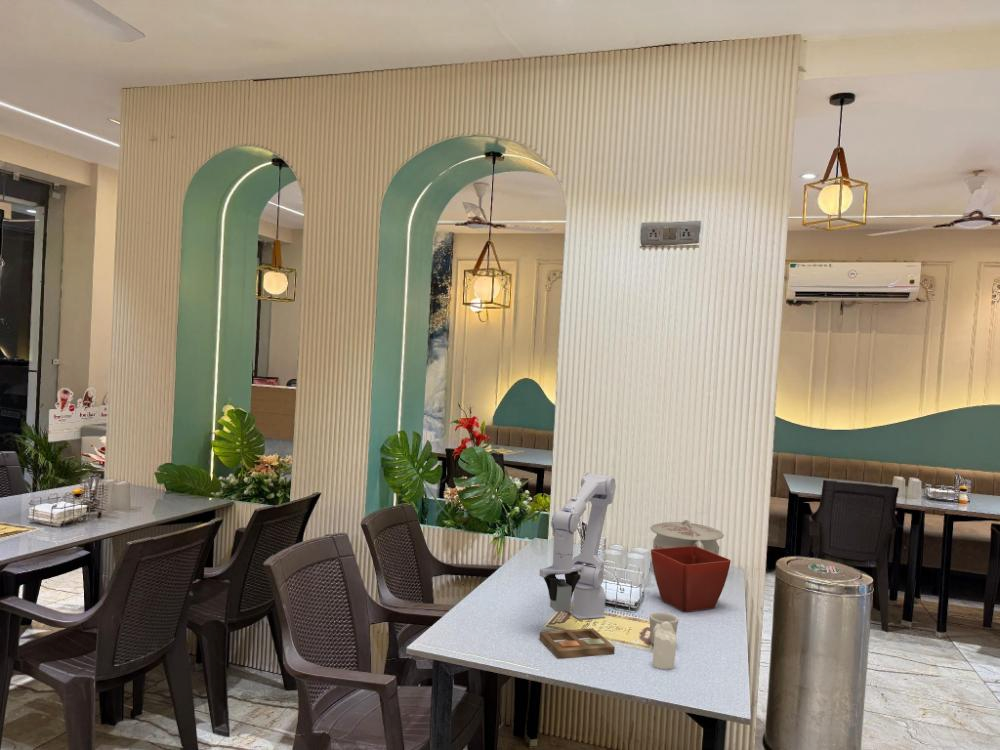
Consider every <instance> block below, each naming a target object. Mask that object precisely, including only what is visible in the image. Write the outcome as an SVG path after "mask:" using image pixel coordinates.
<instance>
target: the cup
mask: <svg viewBox="0 0 1000 750" xmlns="http://www.w3.org/2000/svg"><path fill="white" fill-rule="evenodd" d="M666 621H667V622H669V623H670V624H672V628H673V630H674V631H675V634H676V635H677V631H678V625H679V624H678V623H679V618H678V616H676V615H674V614H672V613H667V612H661V611H660V612H653V613H650V615H649V632H650V633H649V636H650V642H651V644H652V645H654V634H655V632H656V631H657V630H658V629H659V627H660V626H661V624H662V623H664V622H666Z"/></svg>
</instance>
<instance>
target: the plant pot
mask: <svg viewBox="0 0 1000 750" xmlns="http://www.w3.org/2000/svg"><path fill="white" fill-rule="evenodd" d="M650 554H651V555H650V556H651V563H652V568H653V573H654V578H655V582H656V586H657V590H658V592H659V596H660V598H661V600H662V601H663V602H664V603H667V604H668V605H670V606H672V607H674V608H676V609H677V610H679V611H682V612H684V613H686V612H687V613H688V612H693V611H694V612H696V611H702V610H703V611H704V610H710V609H714V608H715V607H716V605H717V603H718V601H719V599H720V597H721V594H722V592H723V590H724V587H725V585H726V581H727V578H728V575H729V572H730V566H731V561H732V560H731V559H729V558H727V557H725V556H721V555H720V554H719V555H717V554H714V553H712V552H709V551H707V550H704V549H702V548H699V547H697V546H685V547H673V548H662V549H651V550H650Z"/></svg>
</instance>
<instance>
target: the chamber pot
mask: <svg viewBox="0 0 1000 750" xmlns="http://www.w3.org/2000/svg"><path fill="white" fill-rule="evenodd" d="M649 529H650V531H651V532H653V533H655V534H656V535H655V537H654V538H653V540H652V548H653V549H662V548H673V547H685V546H697V547H699V548H702V549H704V550H707V551H709V552H712V553H714V554H717V555H719V556H720V545H719V544H718V540H720V539H723V538H724V536H725V534H724V533H723V532H722V531H720V530H718V529H716V528H714V527H710V526H707V525H704V524H700V523H699V524H698V523H693V522H691V521H690V520H688V519H685V520H683V521H668V522H666V521H665V522H659V523H655V524H653V525H651V526H650V527H649Z"/></svg>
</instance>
